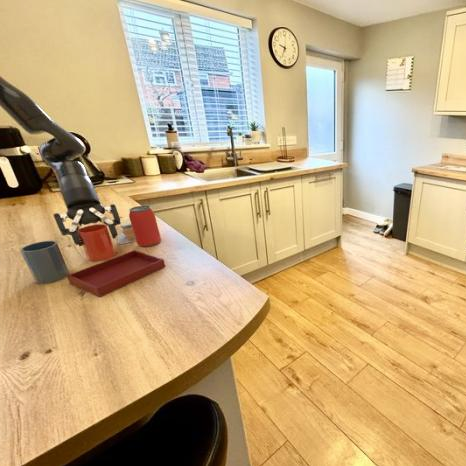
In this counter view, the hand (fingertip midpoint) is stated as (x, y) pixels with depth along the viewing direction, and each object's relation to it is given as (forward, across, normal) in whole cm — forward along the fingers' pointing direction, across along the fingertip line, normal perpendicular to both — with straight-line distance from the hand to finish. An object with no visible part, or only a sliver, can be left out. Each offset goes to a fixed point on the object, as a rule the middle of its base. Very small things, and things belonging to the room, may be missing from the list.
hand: (97, 240), depth 82 cm
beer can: (+2, -12, -6) cm, 14 cm away
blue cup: (+7, +11, -1) cm, 13 cm away
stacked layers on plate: (-5, -10, -13) cm, 17 cm away
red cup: (+3, 0, -5) cm, 6 cm away
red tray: (+14, -2, +7) cm, 16 cm away
